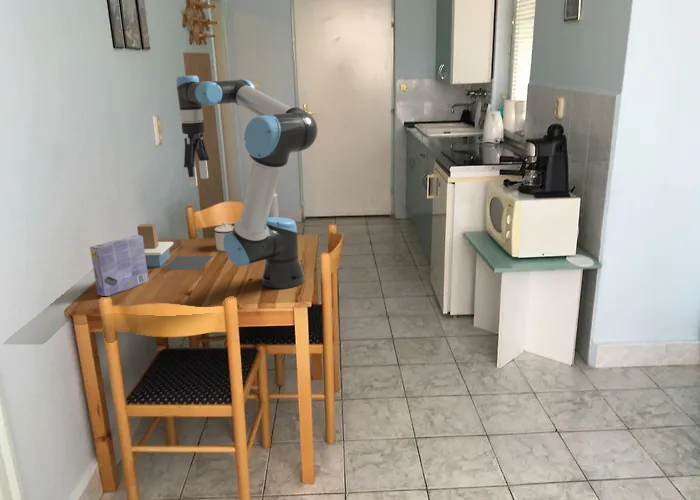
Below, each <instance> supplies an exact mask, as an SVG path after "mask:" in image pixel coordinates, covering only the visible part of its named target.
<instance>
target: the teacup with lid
mask: <svg viewBox="0 0 700 500" xmlns="http://www.w3.org/2000/svg"><path fill="white" fill-rule="evenodd" d="M233 228H234V225H231V224H229V223H228V222H227V221H223V222H222V223H221V224H220V225H219V226H216V227H215V228H214V230H213V232H214V236H215V237H214V238H215V245H216V250H217V251H219V252H225V249H224V244H223V239H224V236H225V235H226V234H228V233H232V232H233Z"/></svg>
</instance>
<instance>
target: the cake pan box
mask: <svg viewBox="0 0 700 500" xmlns="http://www.w3.org/2000/svg"><path fill="white" fill-rule="evenodd" d="M89 250H90V256H91V261H92V262H91V263H92V268H93V273H94V280H95V285H96V291H97V292H96V293H97V295H98V296H101V297H103V296H108V297H109V296H112V295H115V294H118V293H121V292H125V291H127V290H130V289H134V288H135V287H138V286H140V285H143V284H144V283H148V282H149V272H148V268H147V265H146V258H145V251H144V243H143V237H142V236H139V235H138V234H137V235H136V234H134V235H130V236H127V237H124V238H123V237H122V238H119V239H115V240H111V241H108V242H103V243H101V244H96V245H92V246H90V247H89Z"/></svg>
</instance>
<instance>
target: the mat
mask: <svg viewBox="0 0 700 500" xmlns="http://www.w3.org/2000/svg"><path fill="white" fill-rule="evenodd" d="M213 257H214V256H213V255H201V256H200V255H195V256H194V255H183V256H182V255H177V256H175V258H174V259H173V260H171V261H170V263H168V264H167V265H166V266H165V268H163V270H164V271H166V270H167V271H175V270H177V271H178V270H179V271H180V270H182V271H183V270H184V271H185V270H186V271H187V270H190V271H192V270H203V268H204V267H205V266H206V265H207V264H208V263H209V261H210V260H212V258H213Z"/></svg>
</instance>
